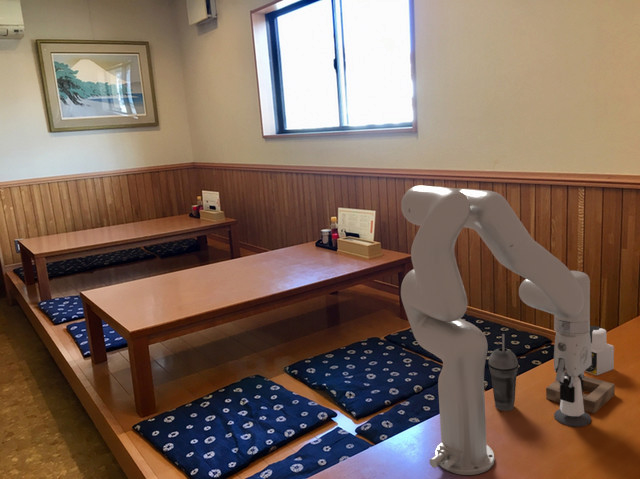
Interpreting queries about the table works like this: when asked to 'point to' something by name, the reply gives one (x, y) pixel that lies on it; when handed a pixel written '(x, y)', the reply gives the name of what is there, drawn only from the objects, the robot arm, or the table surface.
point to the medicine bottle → (600, 352)
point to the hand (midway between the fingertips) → (571, 396)
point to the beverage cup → (503, 377)
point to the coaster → (572, 419)
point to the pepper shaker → (577, 406)
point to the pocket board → (591, 402)
